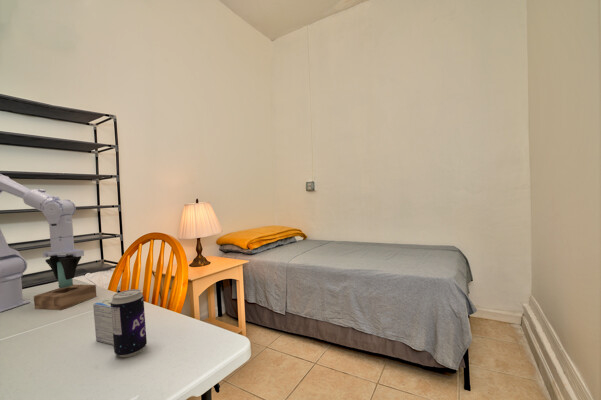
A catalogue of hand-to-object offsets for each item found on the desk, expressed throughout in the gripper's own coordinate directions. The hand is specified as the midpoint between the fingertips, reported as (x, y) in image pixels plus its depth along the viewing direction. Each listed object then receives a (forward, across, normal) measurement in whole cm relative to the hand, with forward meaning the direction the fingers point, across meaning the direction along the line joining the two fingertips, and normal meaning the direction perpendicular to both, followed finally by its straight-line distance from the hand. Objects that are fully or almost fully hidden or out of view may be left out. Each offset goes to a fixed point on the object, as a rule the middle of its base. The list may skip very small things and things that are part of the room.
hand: (65, 278), depth 90 cm
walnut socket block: (+8, 0, 0) cm, 8 cm away
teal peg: (+2, 0, 0) cm, 2 cm away
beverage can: (+8, +48, -23) cm, 54 cm away
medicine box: (+8, +40, -19) cm, 45 cm away
